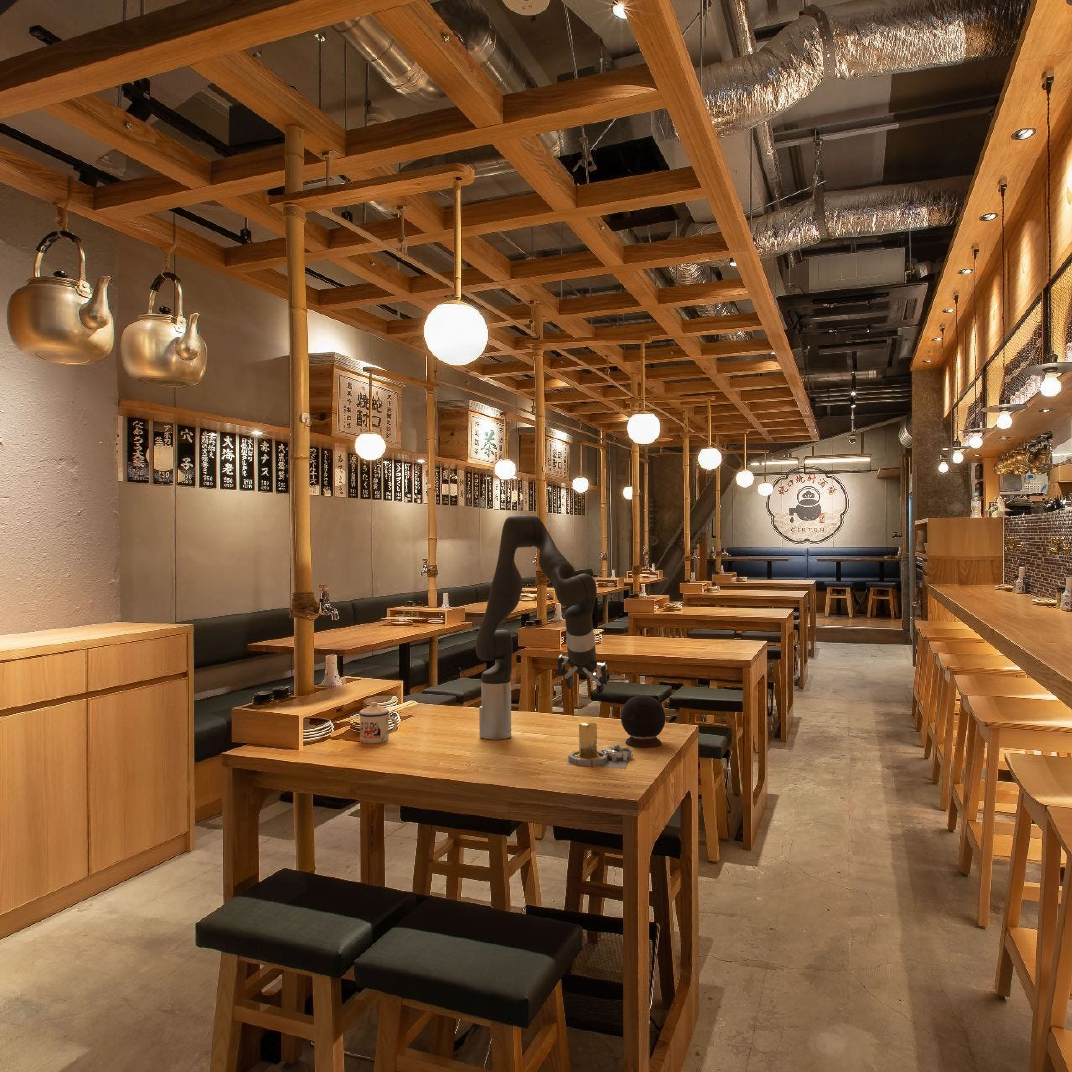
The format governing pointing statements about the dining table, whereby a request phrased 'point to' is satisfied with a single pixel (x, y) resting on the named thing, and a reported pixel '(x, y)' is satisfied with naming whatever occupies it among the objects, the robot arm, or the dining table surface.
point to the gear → (618, 753)
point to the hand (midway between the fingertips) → (585, 690)
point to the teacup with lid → (375, 724)
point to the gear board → (612, 764)
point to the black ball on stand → (643, 721)
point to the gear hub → (587, 741)
